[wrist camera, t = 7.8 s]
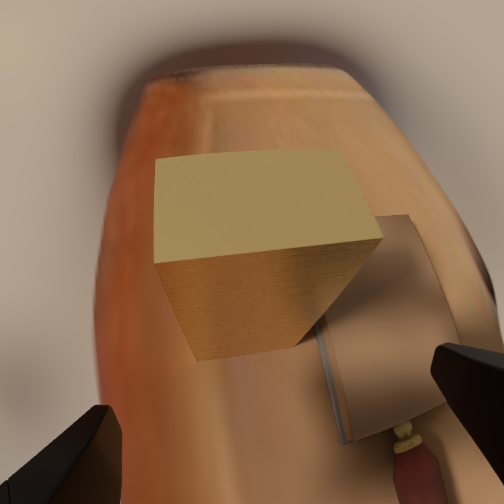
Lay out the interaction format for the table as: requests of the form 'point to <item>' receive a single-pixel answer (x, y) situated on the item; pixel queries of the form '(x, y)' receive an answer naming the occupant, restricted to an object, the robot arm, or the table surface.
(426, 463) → the gavel
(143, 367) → the table surface
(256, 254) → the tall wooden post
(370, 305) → the tan flat block
